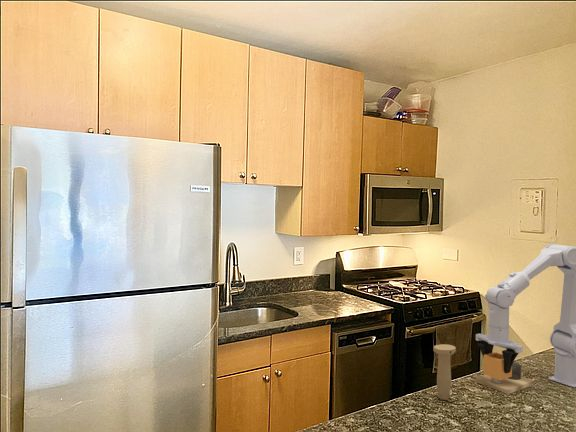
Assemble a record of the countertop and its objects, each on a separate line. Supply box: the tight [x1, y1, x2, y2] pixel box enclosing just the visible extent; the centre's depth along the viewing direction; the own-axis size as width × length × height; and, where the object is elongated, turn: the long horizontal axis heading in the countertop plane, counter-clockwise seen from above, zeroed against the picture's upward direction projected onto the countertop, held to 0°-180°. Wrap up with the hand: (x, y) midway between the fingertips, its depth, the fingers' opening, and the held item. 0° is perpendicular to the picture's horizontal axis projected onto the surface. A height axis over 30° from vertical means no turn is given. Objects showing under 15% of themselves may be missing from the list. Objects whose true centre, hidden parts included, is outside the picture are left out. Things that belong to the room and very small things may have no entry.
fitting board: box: [474, 361, 535, 395], centre depth 142 cm, size 14×11×5 cm
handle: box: [432, 343, 457, 401], centre depth 130 cm, size 5×6×15 cm
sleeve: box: [482, 351, 512, 380], centre depth 140 cm, size 6×6×6 cm
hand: (497, 369), depth 140 cm, fingers closed on sleeve, 6 cm apart
